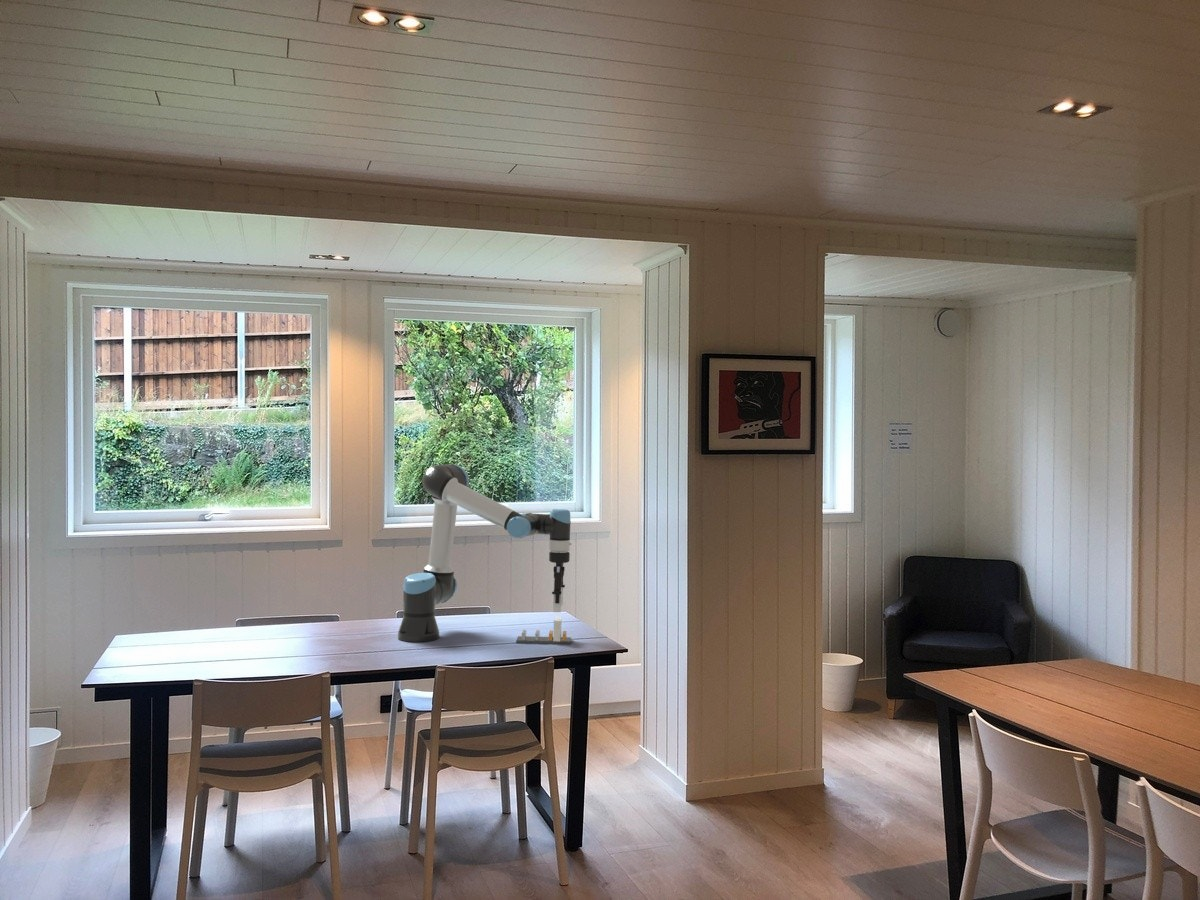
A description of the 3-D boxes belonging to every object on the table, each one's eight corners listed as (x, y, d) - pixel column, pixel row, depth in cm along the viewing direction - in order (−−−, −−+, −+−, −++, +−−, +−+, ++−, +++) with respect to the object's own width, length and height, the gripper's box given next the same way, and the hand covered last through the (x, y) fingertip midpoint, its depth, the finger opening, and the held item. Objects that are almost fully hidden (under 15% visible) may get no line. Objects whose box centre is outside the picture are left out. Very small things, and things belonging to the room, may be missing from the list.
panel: (553, 641, 344) (553, 620, 344) (554, 636, 352) (554, 616, 352) (560, 641, 344) (560, 621, 344) (561, 636, 352) (561, 616, 352)
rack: (516, 643, 345) (516, 633, 345) (518, 638, 352) (518, 629, 352) (570, 644, 344) (571, 634, 344) (571, 640, 351) (571, 630, 351)
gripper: (568, 555, 335) (566, 615, 335) (570, 547, 360) (569, 602, 360) (547, 555, 335) (545, 614, 335) (551, 546, 360) (549, 602, 360)
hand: (558, 608), depth 348 cm, fingers open, 13 cm apart
